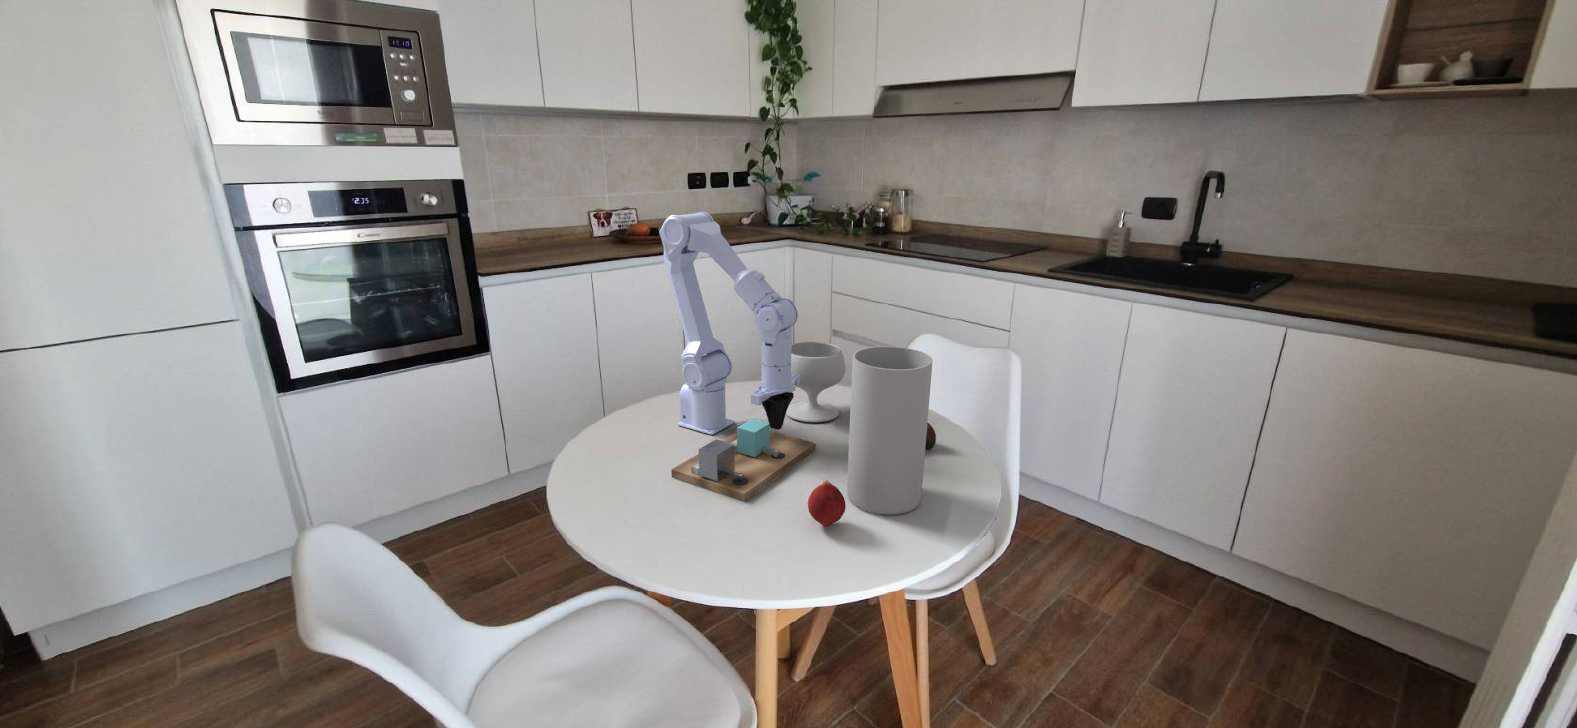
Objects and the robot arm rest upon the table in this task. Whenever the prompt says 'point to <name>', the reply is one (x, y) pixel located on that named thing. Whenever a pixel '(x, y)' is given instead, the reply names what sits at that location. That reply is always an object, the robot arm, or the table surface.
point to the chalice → (816, 379)
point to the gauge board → (749, 467)
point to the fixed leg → (718, 461)
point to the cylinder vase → (888, 428)
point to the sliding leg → (754, 438)
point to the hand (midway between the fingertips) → (775, 427)
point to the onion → (826, 504)
